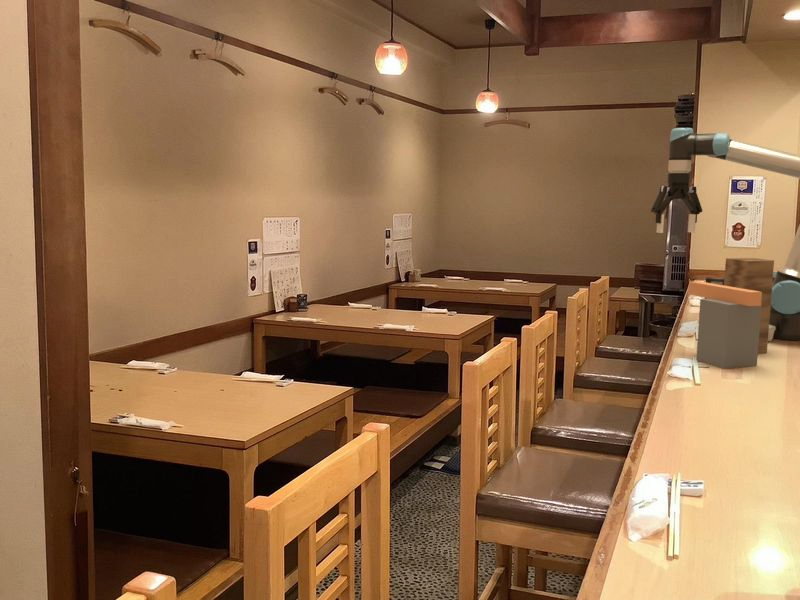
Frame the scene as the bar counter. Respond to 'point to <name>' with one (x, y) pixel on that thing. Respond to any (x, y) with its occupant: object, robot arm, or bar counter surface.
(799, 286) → the robot arm
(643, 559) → the bar counter surface
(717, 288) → the beam
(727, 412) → the bar counter surface
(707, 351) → the low post
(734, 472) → the bar counter surface
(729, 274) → the tall post
